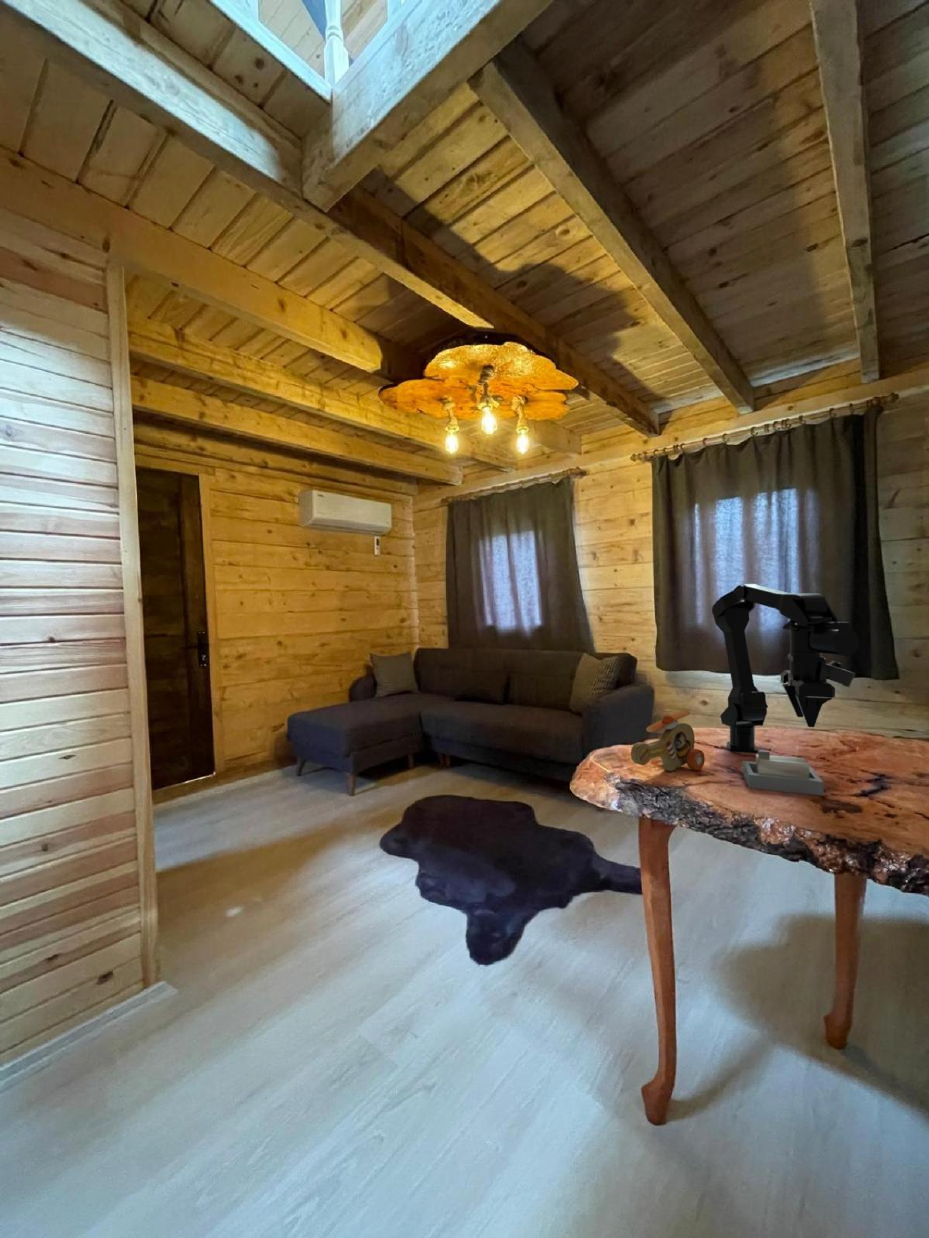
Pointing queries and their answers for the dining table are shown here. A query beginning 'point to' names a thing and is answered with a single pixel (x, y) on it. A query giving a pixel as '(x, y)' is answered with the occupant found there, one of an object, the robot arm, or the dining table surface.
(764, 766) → the white block with tab
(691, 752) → the toy helicopter
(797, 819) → the dining table surface
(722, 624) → the robot arm
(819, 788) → the cradle
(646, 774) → the dining table surface
